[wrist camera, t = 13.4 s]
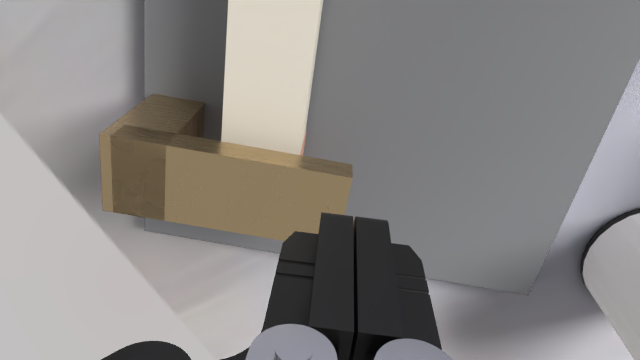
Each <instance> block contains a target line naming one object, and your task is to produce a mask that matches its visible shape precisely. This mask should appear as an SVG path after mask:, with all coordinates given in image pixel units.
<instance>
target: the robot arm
mask: <svg viewBox="0 0 640 360" xmlns="http://www.w3.org/2000/svg"><path fill="white" fill-rule="evenodd" d="M425 278H426V277H425V272H424V268H423V263H422V260H421V259H420V258H419V257H418V255H417V254H416V253H415V252H414V250H413V249H412V248H411V247H410V246H409V245H403V244H395V243H391V238H390V230H389V223H388V220H381V219H373V218H365V217H357V216H355V219H354V224H353V216H348V215H340V214H332V213H324V212H321V217H320V225H319V233H318V234H314V233H306V232H298V231H295V232H294V233H293V234H292V235H290V236H289V237H288V238H287V239H286V240H285V241H284V242H283V243H282V248H281V252H280V256H279V262H278V265H277V269H276V275H275V278H274V282H273V286H272V291H271V295H270V299H269V304H268V308H267V312H266V317H265V321H264V325H263V329H262V332H261V333H260V334H259V335H258V336H257V337H256V338H255V339H254V341H253V342H252V344H251V346H250V347H249V348H247V349H246V350H244V351H243V352H241V353H239V354H237V355H235V356H232V357H229V358H226V359H221V360H452V359H451V358H450V357H449V356H448V355H447V354H446V353H445V352H443V351H442V348H441V344H440V339H439V335H438V330H437V326H436V321H435V317H434V312H433V308H432V304H431V299H430V295H428V293H429V290H428V286H427V281H425ZM101 360H191V359H190V357H189V356H188V354H187V353H186V352H185V351H183V350H182V349H181V348H179V347H178V346H176V345H173V344H170V343H167V342H162V341H145V342H139V343H135V344H132V345H129V346H126V347H124V348H122V349H120V350H118V351H116V352H114V353H112V354H111V355H109V356H107V357H105V358H103V359H101Z"/></svg>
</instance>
